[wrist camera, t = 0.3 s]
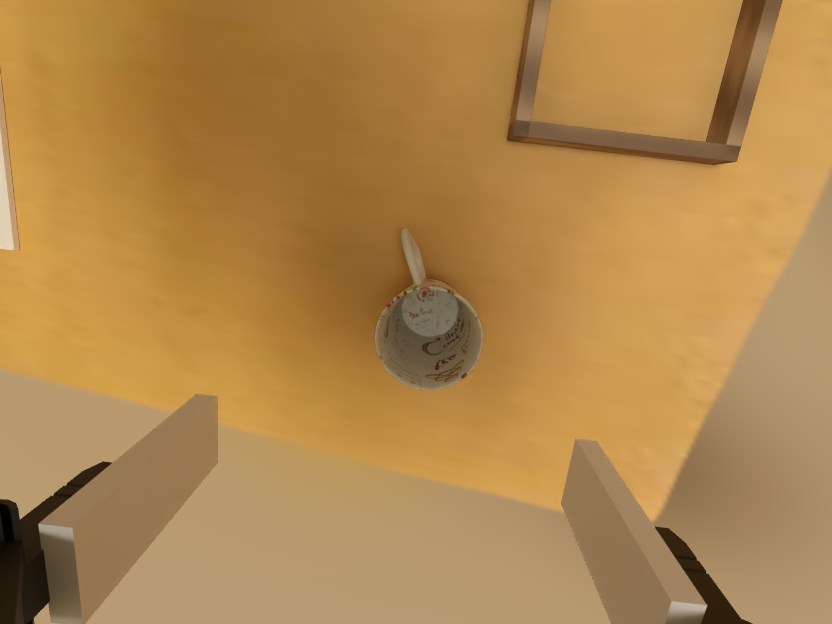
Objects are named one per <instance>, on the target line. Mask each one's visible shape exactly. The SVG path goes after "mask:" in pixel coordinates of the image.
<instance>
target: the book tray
mask: <svg viewBox="0 0 832 624" xmlns="http://www.w3.org/2000/svg"><path fill="white" fill-rule="evenodd" d="M550 3H551V0H529V7H528V13H527V19H526V26H525V32H524V38H523V45H522V51H521V57H520V64H519V70H518V76H517V83H516V89H515V95H514V102H513V108H512V114H511V121H510V127H509V133H508V140H510V141H519V142H527V143H536V144H544V145H553V146H561V147H569V148H578V149H586V150H595V151H603V152H612V153H620V154H628V155H637V156H645V157H654V158H662V159H671V160H679V161H688V162H696V163H704V164H713V165H715V164H723V163H731V162H737V159H738V155H739V152H740V148H741V145H742V141H743V138H744V134H745V131H746V127H747V124H748V120H749V116H750V113H751V109H752V106H753V102H754V99H755V95H756V92H757V88H758V85H759V81H760V78H761V74H762V71H763V67H764V64H765V60H766V57H767V53H768V50H769V46H770V43H771V39H772V36H773V32H774V28H775V25H776V21H777V18H778V14H779V11H780V7H781V4H782V0H743V4H742V8H741V12H740V16H739V19H738V23H737V27H736V31H735V34H734V38H733V42H732V46H731V50H730V53H729V57H728V61H727V65H726V68H725V72H724V76H723V80H722V84H721V87H720V91H719V95H718V99H717V102H716V106H715V110H714V114H713V118H712V121H711V125H710V129H709V133H708V136H707V140H706V142H701V141H692V140H684V139H675V138H667V137H658V136H650V135H641V134H633V133H625V132H616V131H608V130H599V129H591V128H582V127H574V126H565V125H557V124H548V123H540V122H531V115H532V109H533V103H534V98H535V92H536V86H537V80H538V74H539V68H540V62H541V56H542V50H543V44H544V38H545V32H546V26H547V20H548V15H549V9H550Z"/></svg>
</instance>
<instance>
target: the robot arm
mask: <svg viewBox="0 0 832 624" xmlns="http://www.w3.org/2000/svg"><path fill="white" fill-rule="evenodd" d="M217 463H218V402H217V396H211V395H202V394H196V395H195V396H194V397H192V398H191V399H190V400H189V401H187V402H186V403H185V404H184V405H183V406H181V407H180V408H179V409H178V410H176V411H175V412H174V413H173V414H172V415H170V416H169V417H168V418H167V419H166V420H164V421H163V422H162V423H161V424H159V425H158V426H157V427H156V428H155V429H153V430H152V431H151V432H150V433H148V435H146V436H145V437H144V438H142V439H141V440H140V441H139V442H137V443H136V444H135V445H134V446H133V447H131V448H130V449H129V450H128V451H126V452H125V453H124V454H123V455H122V456H120V457H119V458H118V459H117V460H116V461H114V462H113V463H110V462H101V463H99V464H97V465H95V466H93V467H91V468H89V469H86V470H84V471H82V472H81V473H80V474H79V475H77V476H76V477H75V478H73V479H72V480H71V481H69V482H68V483H67V485H66V486H63V487H62V488H60V489H59V490H58V491H56V492H55V493H54V495H53V496H50V497H49V498H47V499H46V500H45V501H44V502H42V503H41V504H40V505H39V506H37V507H36V508H34V509H33V510H32V511H31V512H29V513H28V514H27V515H26V516H24V517H23V518H22V519H19V511H18V507H17V505H16V503H15V502H12V501H10V500H3V499H0V624H34V617H35V616H36V615H37V614H38V613H39V612H40V610H42V609H43V608H44V606H46V604H47V603H49V611H50V618H51V622H52V623H60V624H85V623H86V622H87V621H88V620H89V618H90V617H91V616H92V615H93V614H94V612H95V611H96V610H97V609H98V608H99V606H100V605H101V604H102V603H103V601H104V600H105V599H106V598H107V597H108V595H109V594H110V593H111V592H112V591H113V589H114V588H115V587H116V586H117V584H118V583H119V582H120V581H121V580H122V578H123V577H124V576H125V575H126V574H127V572H128V571H129V570H130V569H131V567H132V566H133V565H134V564H135V563H136V561H137V560H138V559H139V558H140V556H141V555H142V554H143V553H144V551H145V550H146V549H147V548H148V547H149V545H150V544H151V543H152V542H153V541H154V539H155V538H156V537H157V536H158V534H159V533H160V532H161V531H162V530H163V528H164V527H165V526H166V525H167V524H168V522H169V521H170V520H171V519H172V518H173V516H174V515H175V514H176V513H177V511H178V510H179V509H180V508H181V507H182V505H183V504H184V503H185V502H186V501H187V499H188V498H189V497H190V496H191V494H192V493H193V492H194V491H195V489H196V488H197V487H198V486H199V485H200V483H201V482H202V481H203V480H204V479H205V477H206V476H207V475H208V474H209V473H210V471H211V470H212V469H213V468H214V466H215V465H216V464H217ZM561 505H562V507H563V509H564V512H565V514H566V517H567V519H568V521H569V524H570V526H571V528H572V531H573V533H574V536H575V538H576V540H577V543H578V545H579V548H580V550H581V552H582V555H583V557H584V560H585V562H586V564H587V567H588V569H589V572H590V574H591V576H592V579H593V581H594V584H595V586H596V588H597V591H598V593H599V596H600V598H601V600H602V603H603V605H604V608H605V610H606V612H607V615H608V617H609V620H610V622H611V624H752V623H750V622H748V621H745V620H743V619H741V618H740V617H739V615H738V614H737V613H736V611H735V610H734V609H733V607H732V606H731V604H730V603H729V602H728V600H727V599H726V598H725V596H724V595H723V594H722V592H721V591H720V589H719V588H718V587H717V585H716V584H715V583H714V581H713V580H712V578H711V577H710V576H709V574H706V570H705V569H704V567H703V566H702V565H701V564H700V562H699V561H697V558H696V557H695V555H694V554H693V553H692V551H691V550H690V548H689V547H688V546H687V544H686V543H685V542H684V541H682V539H680V538H679V537H678V536H677V535H676V534H675V533H673V532H672V531H671V530H670V529H668V528H661V527H654V526H653V524H652V523H651V521H650V520H649V518H648V517H647V515H646V514H645V512H644V511H643V509H642V508H641V506H640V505H639V503H638V502H637V500H636V499H635V497H634V496H633V494H632V493H631V491H630V490H629V488H628V487H627V485H626V484H625V482H624V481H623V479H622V478H621V477H620V475H619V474H618V472H617V471H616V469H615V468H614V466H613V465H612V463H611V462H610V460H609V459H608V457H607V456H606V454H605V453H604V451H603V450H602V448H601V447H600V445H599V444H598V442H597V441H592V440H583V439H575V443H574V448H573V452H572V457H571V461H570V466H569V470H568V474H567V479H566V483H565V488H564V492H563V497H562V501H561Z"/></svg>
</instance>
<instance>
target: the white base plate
mask: <svg viewBox="0 0 832 624" xmlns="http://www.w3.org/2000/svg"><path fill="white" fill-rule="evenodd" d="M0 249H7V250H20V247H19V238H18V229H17V220H16V210H15V201H14V192H13V183H12V174H11V165H10V156H9V147H8V137H7V128H6V119H5V110H4V101H3V92H2V83H1V74H0Z"/></svg>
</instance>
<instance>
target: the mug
mask: <svg viewBox="0 0 832 624" xmlns="http://www.w3.org/2000/svg"><path fill="white" fill-rule="evenodd" d="M401 239H402V244H403V249H404V253H405V257H406V260H407V264H408V267H409V270H410V273H411V276H412V279H413V282H414V284H412V285H411V286H409V287H408V288H406V289H405V290H404V291H402V292H401V293H399V294H398V295H396V296H395V297H394V298H393V299H392V300H391V301H390V302H389V303H388V304H387V305H386V307H385V308H384V309H383V311H382V313H381V315H380V317H379V319H378V322H377V325H376V330H375V346H376V350H377V354H378V356H379V359H380V361H381V363H382V364H383V366H384V368H385V369H386V370H387V371H388V372H389V373H390V375H392V376H393V377H394V378H395V379H396V380H398V381H399V382H401V383H403V384H405V385H407V386H409V387H412V388H416V389H421V390H438V389H443V388H446V387H449V386H452V385H454V384H456V383H458V382H459V381H461V380H462V379H463V378H465V377H466V376H467V375H468V374H469V373H470V372H471V371H472V370H473V368H474V367H475V365H476V364H477V362H478V360H479V357H480V355H481V352H482V347H483V329H482V325H481V322H480V319H479V317H478V315H477V313H476V311H475V309H474V308H473V307H472V305H471V304H470V303H469V302H468V301H467V300H466V299H465V298H464V297H463V296H462V295H460V294H459V293H458V292H457V291H455V290H454V289H453V288H452V287H450V286H449V285H448V284H446V283H444V282H442V281H439V280H434V279H426V274H425V269H424V265H423V261H422V257H421V253H420V250H419V248H418V246H417V244H416V242H415V240H414V239H413V237H412V235H411V233H410V231H409V230H408V229H407V228H403V229H402V231H401Z"/></svg>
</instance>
